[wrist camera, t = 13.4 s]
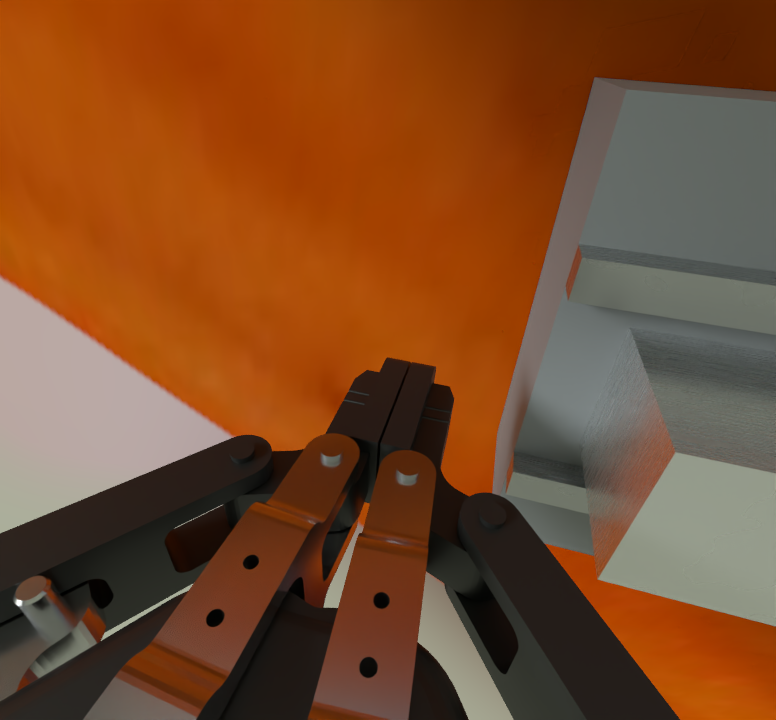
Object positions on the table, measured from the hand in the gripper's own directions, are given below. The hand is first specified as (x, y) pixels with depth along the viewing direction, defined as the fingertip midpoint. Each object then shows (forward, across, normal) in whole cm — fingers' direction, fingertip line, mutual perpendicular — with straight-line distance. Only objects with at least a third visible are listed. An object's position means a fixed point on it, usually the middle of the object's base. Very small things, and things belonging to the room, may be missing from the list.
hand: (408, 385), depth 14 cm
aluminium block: (+2, -10, 0) cm, 10 cm away
